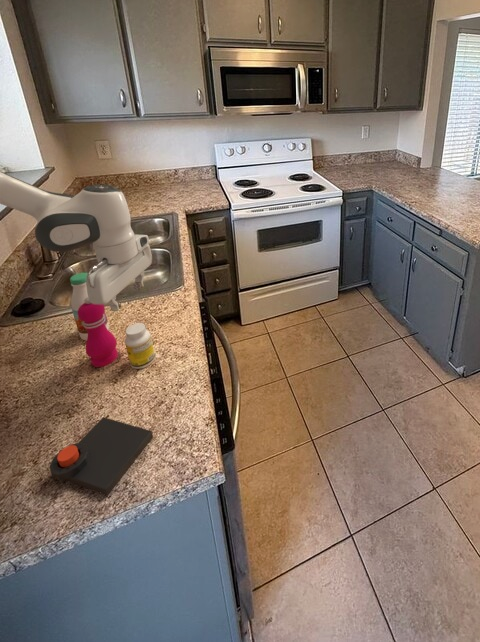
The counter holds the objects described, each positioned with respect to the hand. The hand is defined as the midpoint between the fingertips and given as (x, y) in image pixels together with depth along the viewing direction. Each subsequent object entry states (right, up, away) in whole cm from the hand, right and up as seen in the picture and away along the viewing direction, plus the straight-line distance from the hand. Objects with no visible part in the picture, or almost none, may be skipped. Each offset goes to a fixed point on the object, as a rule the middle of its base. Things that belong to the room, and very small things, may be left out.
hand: (128, 298), depth 91 cm
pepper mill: (-11, -19, +8) cm, 23 cm away
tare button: (0, -26, -21) cm, 34 cm away
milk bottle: (-20, -15, +18) cm, 31 cm away
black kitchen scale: (+5, -28, -18) cm, 34 cm away
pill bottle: (0, -19, +7) cm, 21 cm away
